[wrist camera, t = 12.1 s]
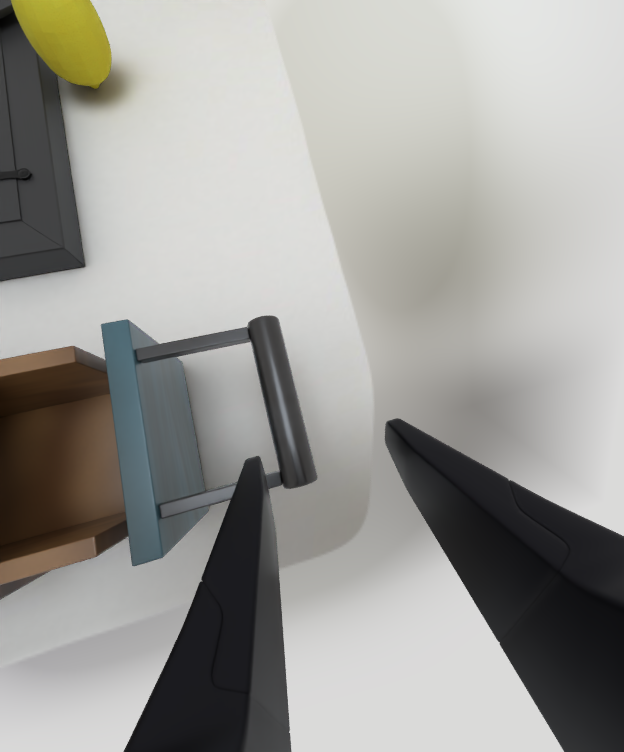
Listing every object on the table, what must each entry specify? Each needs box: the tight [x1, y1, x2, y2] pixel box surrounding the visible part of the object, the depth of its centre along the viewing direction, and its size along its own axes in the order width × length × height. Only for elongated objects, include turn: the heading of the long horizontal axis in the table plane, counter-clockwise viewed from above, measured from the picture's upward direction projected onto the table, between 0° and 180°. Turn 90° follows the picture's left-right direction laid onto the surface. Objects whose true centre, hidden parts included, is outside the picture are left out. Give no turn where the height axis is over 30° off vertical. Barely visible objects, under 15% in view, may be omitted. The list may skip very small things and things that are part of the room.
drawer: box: [0, 316, 317, 585], centre depth 16 cm, size 19×10×8 cm, turn 104°
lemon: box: [11, 0, 111, 89], centre depth 21 cm, size 7×6×10 cm
